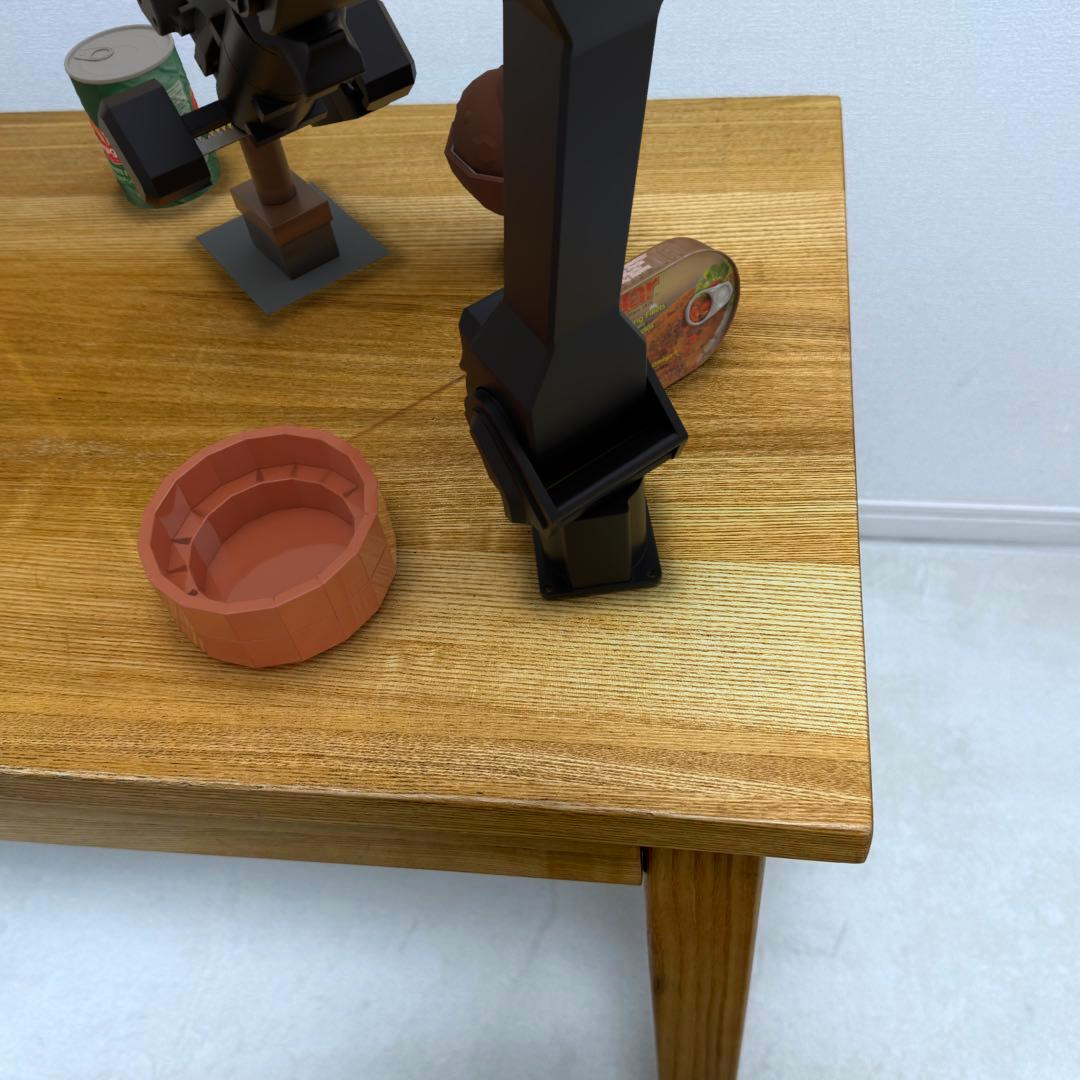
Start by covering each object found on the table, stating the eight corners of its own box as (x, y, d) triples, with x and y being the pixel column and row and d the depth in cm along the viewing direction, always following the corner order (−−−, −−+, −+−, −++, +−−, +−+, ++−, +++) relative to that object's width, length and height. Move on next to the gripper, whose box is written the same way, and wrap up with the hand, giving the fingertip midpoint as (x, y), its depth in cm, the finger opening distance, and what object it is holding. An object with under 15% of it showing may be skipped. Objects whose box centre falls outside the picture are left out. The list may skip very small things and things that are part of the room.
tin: (549, 460, 63) (535, 351, 56) (518, 431, 65) (501, 322, 58) (741, 343, 68) (748, 230, 61) (708, 319, 69) (711, 206, 63)
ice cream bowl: (624, 207, 78) (616, -3, 66) (616, 308, 71) (604, 94, 59) (480, 211, 79) (446, 6, 67) (458, 310, 72) (417, 102, 61)
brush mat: (393, 259, 77) (391, 252, 76) (269, 322, 74) (266, 315, 73) (314, 188, 83) (312, 181, 83) (197, 243, 80) (194, 236, 80)
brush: (344, 256, 76) (291, 72, 66) (291, 283, 75) (227, 101, 64) (301, 217, 80) (243, 38, 69) (249, 243, 78) (182, 64, 68)
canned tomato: (237, 156, 87) (189, 22, 78) (204, 215, 82) (150, 78, 74) (146, 157, 88) (89, 24, 80) (109, 215, 84) (45, 80, 75)
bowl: (400, 654, 56) (378, 593, 51) (164, 687, 56) (122, 629, 51) (396, 477, 63) (376, 411, 59) (189, 507, 64) (154, 443, 59)
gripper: (349, -155, 60) (309, -15, 74) (31, -39, 54) (56, 88, 69) (449, 33, 62) (391, 133, 76) (151, 164, 56) (150, 245, 71)
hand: (251, 146), depth 73 cm, fingers open, 9 cm apart
